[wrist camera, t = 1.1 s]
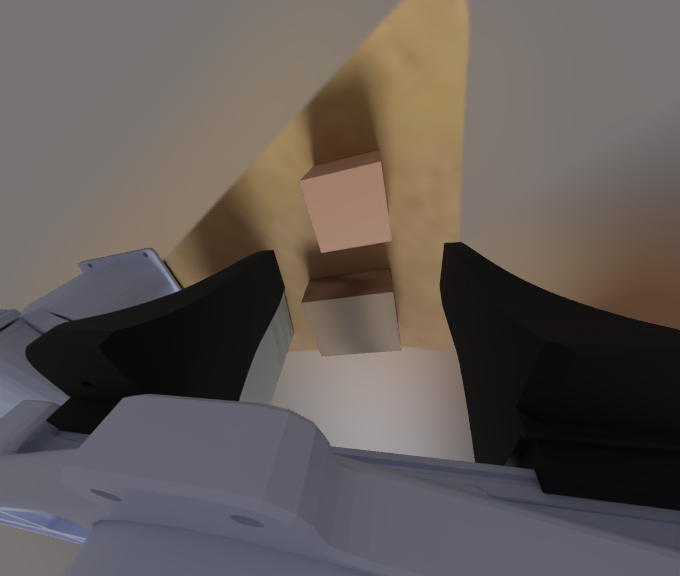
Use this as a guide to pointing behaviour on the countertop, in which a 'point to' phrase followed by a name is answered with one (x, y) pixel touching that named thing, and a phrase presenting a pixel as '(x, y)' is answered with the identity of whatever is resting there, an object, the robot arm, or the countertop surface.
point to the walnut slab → (353, 313)
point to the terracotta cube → (347, 202)
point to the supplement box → (269, 358)
